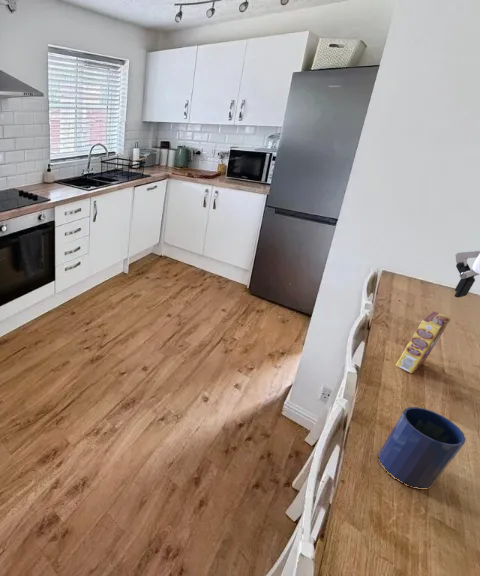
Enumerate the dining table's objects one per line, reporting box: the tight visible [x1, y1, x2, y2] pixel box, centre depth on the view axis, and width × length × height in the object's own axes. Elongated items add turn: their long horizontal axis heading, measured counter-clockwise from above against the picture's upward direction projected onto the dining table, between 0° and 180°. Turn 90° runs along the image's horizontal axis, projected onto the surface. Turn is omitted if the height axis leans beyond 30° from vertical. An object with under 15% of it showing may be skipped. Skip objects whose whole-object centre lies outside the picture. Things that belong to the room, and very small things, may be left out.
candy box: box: [395, 311, 452, 374], centre depth 98 cm, size 9×4×15 cm, turn 125°
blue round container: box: [377, 406, 466, 488], centre depth 69 cm, size 9×9×12 cm
